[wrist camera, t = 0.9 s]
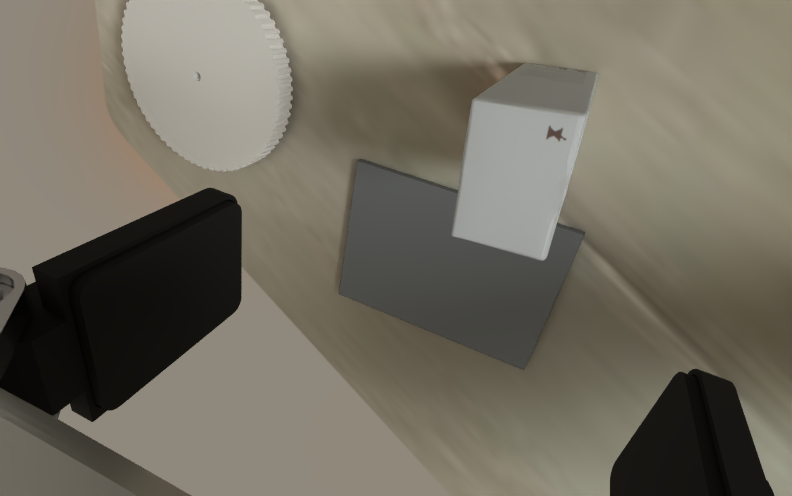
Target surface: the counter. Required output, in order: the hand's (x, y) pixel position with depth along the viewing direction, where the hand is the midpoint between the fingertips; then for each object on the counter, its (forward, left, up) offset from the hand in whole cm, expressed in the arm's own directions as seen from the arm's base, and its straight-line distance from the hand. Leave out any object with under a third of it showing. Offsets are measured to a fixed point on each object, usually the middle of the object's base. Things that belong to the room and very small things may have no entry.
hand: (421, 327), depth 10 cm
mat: (+3, +12, -22) cm, 25 cm away
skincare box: (0, 0, -22) cm, 22 cm away
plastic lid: (+24, +3, -22) cm, 33 cm away
